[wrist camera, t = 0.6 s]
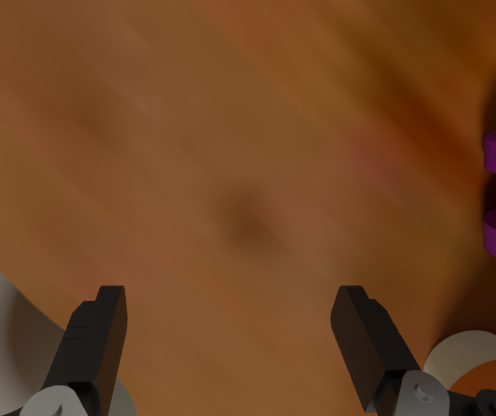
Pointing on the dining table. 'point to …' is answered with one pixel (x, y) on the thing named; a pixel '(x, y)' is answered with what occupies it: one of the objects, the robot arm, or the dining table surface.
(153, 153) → the dining table surface
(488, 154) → the mounting bracket
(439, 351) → the reusable coffee cup
